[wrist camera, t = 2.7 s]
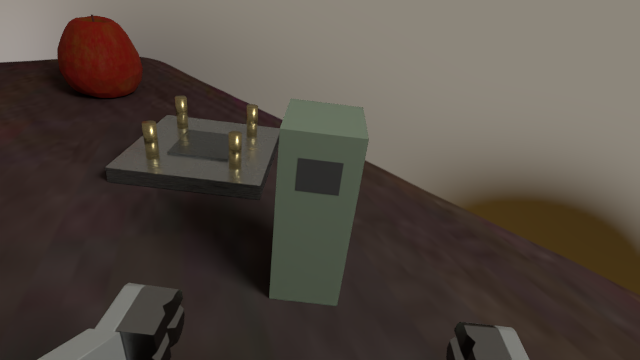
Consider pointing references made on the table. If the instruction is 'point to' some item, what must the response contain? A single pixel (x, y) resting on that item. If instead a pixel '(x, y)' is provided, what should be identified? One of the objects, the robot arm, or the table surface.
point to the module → (315, 199)
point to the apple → (99, 58)
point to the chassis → (199, 155)
